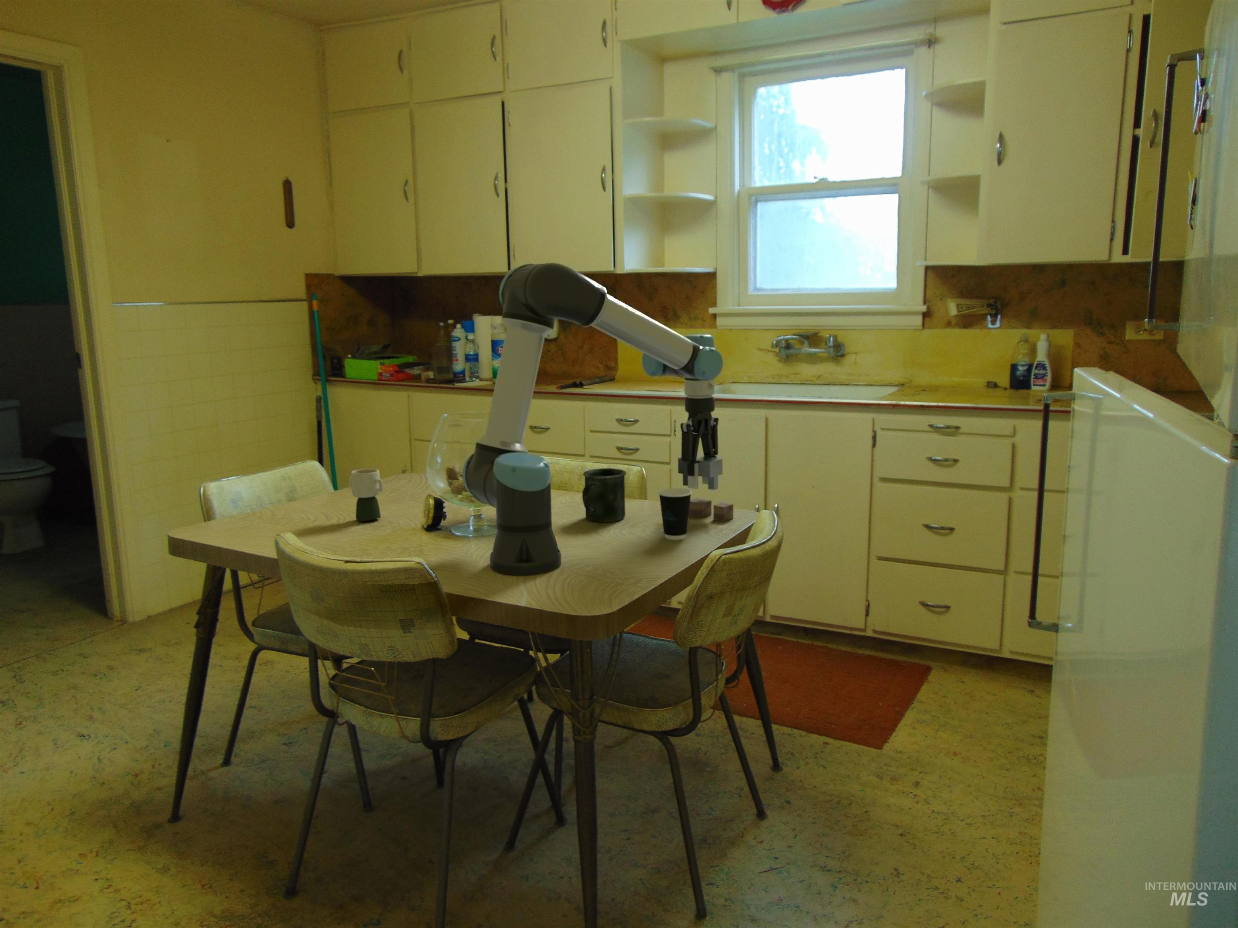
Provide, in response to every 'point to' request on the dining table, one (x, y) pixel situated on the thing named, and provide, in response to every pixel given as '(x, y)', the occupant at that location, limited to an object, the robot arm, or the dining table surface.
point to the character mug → (366, 493)
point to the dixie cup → (675, 512)
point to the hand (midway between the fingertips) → (700, 485)
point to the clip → (704, 470)
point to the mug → (604, 494)
